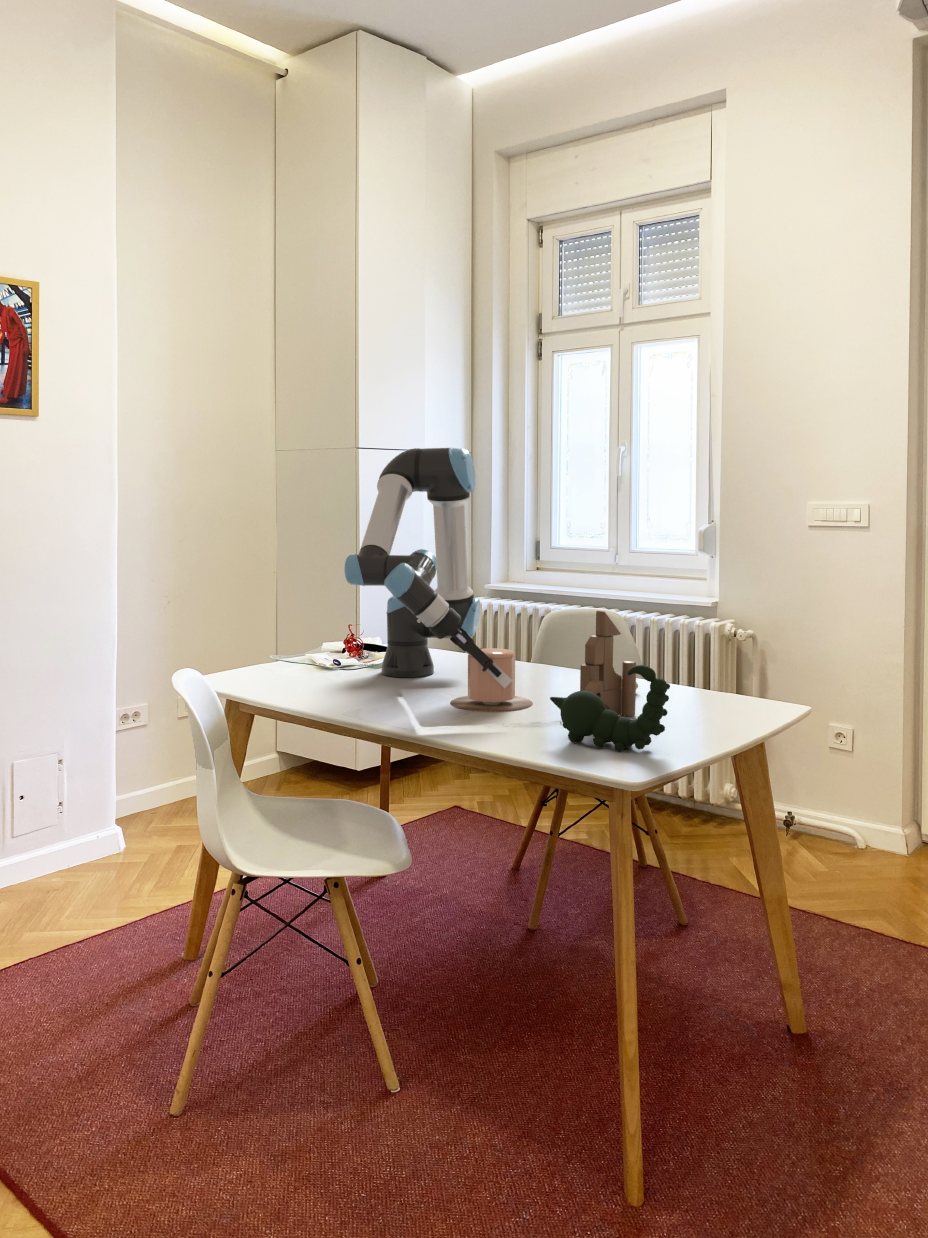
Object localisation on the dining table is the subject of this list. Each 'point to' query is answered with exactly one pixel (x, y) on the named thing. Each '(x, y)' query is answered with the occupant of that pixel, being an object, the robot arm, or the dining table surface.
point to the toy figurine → (614, 715)
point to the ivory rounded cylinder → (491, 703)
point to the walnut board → (478, 706)
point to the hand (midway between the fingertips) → (502, 679)
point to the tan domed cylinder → (484, 683)
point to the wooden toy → (607, 670)
